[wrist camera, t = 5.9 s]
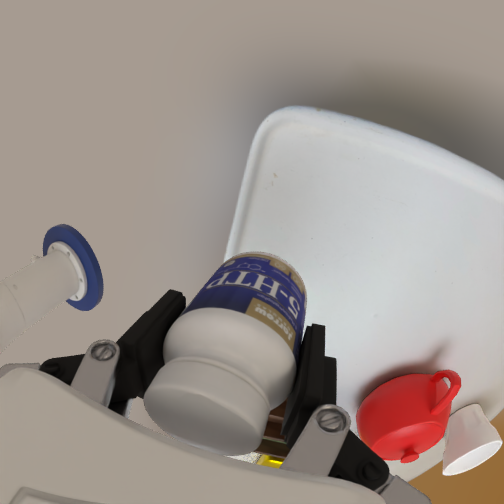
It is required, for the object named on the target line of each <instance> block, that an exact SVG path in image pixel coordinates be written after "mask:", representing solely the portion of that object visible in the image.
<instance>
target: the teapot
mask: <svg viewBox="0 0 504 504" xmlns="http://www.w3.org/2000/svg"><path fill="white" fill-rule="evenodd" d="M444 377H447V378H448V379H449V380H450V382H451V384H450V388H449V389H448V386H447V384H446V383H445V382H444V381H443V380H442V378H444ZM460 387H461V378H460V377H459V375H458V374H457V373H456V372H454V371H451V370H443V371H437V372H436V373H435V374H434V375H430V374H409V375H405V376H401V377H396V378H394V379H392V380H390V381H388V382H386V383H384V384H382V385H380V386H378V387H377V388H376V389H375V390H374V391H373V392H371V393H370V394H369V395H368V396H367V397H366V398H365V399H364V400H363V402H362V404H361V405H360V407H359V409H358V411H357V414H356V422H357V429H358V434H359V436H360V439H361V440H362V441H363V442H364V443H365V444H366V445H367V446H368V447H369V448H370V449H371V450H373V451H374V452H375V453H376V454H377V455H378V456H379V457H380V458H382V459H383V460H391V461H392V460H400V459H401V463H409V462H412V461H415V460H416V459H418V458H419V454H420V453H422V452H425V451H426V450H428V449H429V448H431V447H433V446H434V445H436V444H437V443H438V442H439V441H440V440H441V439H442V438H443V436H444V433H445V430H446V427H447V424H448V420H449V415H450V411H451V403H452V400H453V398H454V397H455V396H456V395H457V393H458V391H459V389H460Z"/></svg>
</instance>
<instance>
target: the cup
mask: <svg viewBox="0 0 504 504" xmlns="http://www.w3.org/2000/svg"><path fill="white" fill-rule="evenodd" d="M445 432H446V445H445V451H444V453H443V475H447V476H449V475H456V474H459V473H462V472H465V471H467V470H469V469H472V468H474V467H476V466H478V465H479V464H481V463H483V462H484V461H486V460H487V459H488V458H490V457H491V456H492V455H493V454H495V453H496V452H497V450H499V448H500V447H501V445H502V440H501V438H500V436H499V434H498V432H497V430H496V428H495V427H494V426H492V425H491V424H490V422H489V421H488V419H487V417H486V416H485V414H484V412H483V411H482V408H481V406H480V405H479V404H471V405H468V406H465V407H463V408H461V409H459V410H458V411H456V412H455V413H454V414H452V415H451V416H450V417H449V420H448V424H447V427H446V430H445Z"/></svg>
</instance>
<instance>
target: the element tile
mask: <svg viewBox="0 0 504 504" xmlns="http://www.w3.org/2000/svg"><path fill="white" fill-rule="evenodd" d="M284 460H285V459H284V458H278V457H273V456H269V455H264V454H262V456H261V457H260V459H259V460H258V462H257V463H256V464H258V465H263V466H268V467H273V468H278V469H279V467H280V466H281V464H282V463H283V461H284Z"/></svg>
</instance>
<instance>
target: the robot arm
mask: <svg viewBox="0 0 504 504" xmlns="http://www.w3.org/2000/svg"><path fill="white" fill-rule="evenodd" d="M31 262H32V263H31V264H30V265H28V266H26V267H24V268H22V269H21V270H19V271H17V272H16V273H14V274H12V275H10V276H9V277H7V278H5V279H4V280H2V281H1V282H0V354H1V353H2V352H3V350H5V348H6V347H7V346H8V345H10V344H11V343H12V342H13V341H14V340H15V339H16V338H17V337H19V336H20V335H21V334H22V333H24V332H25V331H26V330H27V329H29V328H30V327H31V326H33V325H34V324H35V323H37V322H38V321H39V320H40V319H42V318H43V317H44V316H46V315H47V314H48V313H50V312H51V311H52V310H54V309H55V308H56V307H58V306H59V305H61V304H62V303H63V302H64V301H66V300H67V299H71V300H74V301H78V300H81V299H82V298H83V297H84V296H85V295H86V293H87V277H86V273H85V270H84V267H83V265H82V263H81V261H80V259H79V257H78V256H77V254H76V253H75V251H74V250H73V249H72V248H71V247H70V246H69V245H67V244H66V243H64V242H62V241H56V242H54V243H52V244H51V245H50V246H49V248H48V252H47V255H46V256H44V257H41V258H40V257H38V256H35V255H34V256H32V258H31ZM185 308H186V298H185V296H183V294H182V293H181V292H178V291H175V290H171V289H170V290H169V291H168V292H167V293H166V294H165V295H164V296H163V297H162V298H161V299H160V300H159V301H158V302H157V303H156V304H155V305H154V306H153V307H152V308H151V309H150V310H149V311H146V312H145V313H144V314H143V315H142V316H141V317H140V318H139V319H138V320H137V321H136V322H135V323H134V324H133V325H132V326H131V327H130V328H129V329H128V330H127V331H126V333H125V334H124V335H123V336H122V337H121V338H120V339H119V340H118V341H117V342H116V343H115V342H114V341H110V340H98V341H96V342H94V343H93V344H91V345H90V347H89V348H88V350H87V352H86V354H81V355H74V356H67V357H59V358H52V359H49V360H47V361H45V362H44V363H43V364H42V365H41V366H40V364H39V363H23V364H6V365H4V366H2V367H1V368H0V504H432V503H431V500H430V499H429V498H428V497H427V496H426V495H425V494H423V493H422V492H420V491H419V490H417V489H416V488H414V487H413V486H411V485H410V484H408V483H407V482H406V481H404V480H403V479H401V478H400V477H399V476H397V475H395V476H393V475H391V474H390V473H389V467H388V465H387V464H386V462H385V461H384V460H383V459H382V458H380V457H379V456H378V455H377V454H376V453H375V452H374V451H373V450H371V449H370V448H369V447H368V446H367V445H366V444H365V443H364V442H363V441H362V440H360V439H359V438H358V437H357V436H356V435H355V434H354V433H353V432H352V431H351V430H350V429H349V428H350V424H351V420H350V416H349V414H348V413H347V412H346V411H345V410H344V409H343V408H341V407H339V406H336V386H337V368H336V358H333V357H327V356H325V326H323V325H318V324H312V326H307V327H306V331H305V334H304V337H303V340H302V344H301V349H300V356H299V362H298V370H297V375H296V380H295V383H294V386H293V389H292V391H291V393H290V394H289V396H288V399H287V404H286V409H285V414H284V419H283V424H282V429H281V435H284V436H285V438H284V442H285V443H286V446H287V447H288V448H289V449H290V450H291V451H290V452H289V454H288V455H287V457H286V458H285V460H284V461H283V463H282V464H281V466H280V467H279V469H278V468H273V467H268V466H263V465H258V464H254V463H249V462H245V461H241V460H237V459H233V458H230V457H226V456H223V455H219V454H216V453H213V452H209V451H206V450H203V449H200V448H197V447H194V446H191V445H189V444H186V443H183V442H180V441H178V440H175V439H173V438H170V437H168V436H165V435H163V434H160V433H158V432H155V431H153V430H151V429H149V428H146V427H144V426H142V425H140V424H138V423H136V422H134V421H131V420H129V419H128V418H129V414H130V409H131V405H132V401H133V398H136V397H137V396H138V397H140V398H142V399H144V394H145V392H146V391H147V389H148V387H149V386H150V384H151V383H152V381H153V379H154V378H155V376H156V374H157V373H158V371H159V370H160V369H161V368H162V367H163V366H164V365H165V363H164V358H163V344H164V340H165V337H166V334H167V333H168V331H169V329H170V328H171V326H172V325H173V323H174V322H175V321H176V320H177V318H178V317H179V316H180V315H181V313H182V312H183V311H184V310H185Z"/></svg>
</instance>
